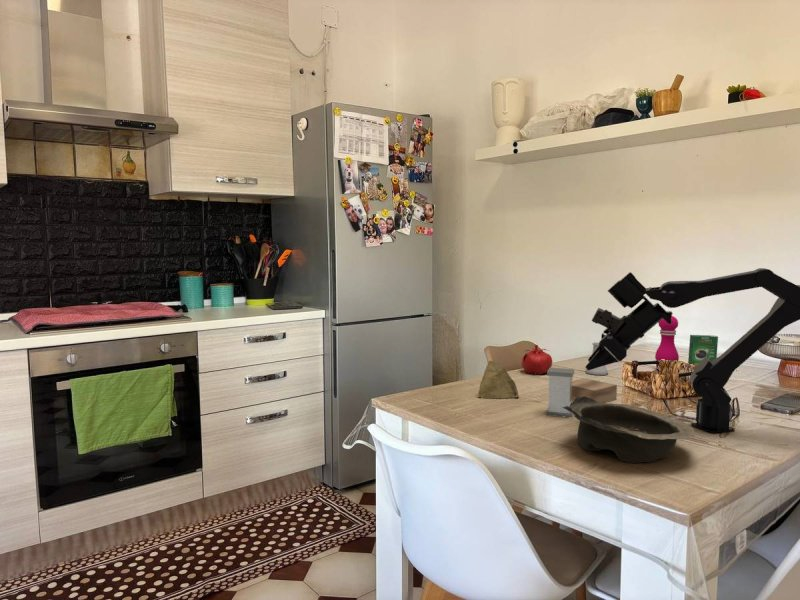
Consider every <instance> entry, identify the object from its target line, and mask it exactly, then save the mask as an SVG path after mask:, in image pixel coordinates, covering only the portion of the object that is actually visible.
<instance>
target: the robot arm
mask: <svg viewBox="0 0 800 600" xmlns="http://www.w3.org/2000/svg"><path fill="white" fill-rule="evenodd" d="M757 288H763V289H764V290H766V291H768V292H769V293H770V294H772V295H773V296H776V297H777V299H776V300H775V302H774V303H773V305H772V306H771V308H770V310H769V312H768V313H766V315H765V316H763V317H762V318H761V319H760V320H759V321H758V322H756V323H755V325H753V326H752V327H751V328H750V329H749V330H748V331H746V332H745V334H743V335H742V336H741V337H740V338H739V339H737V340H736V341H735V342H734V343H733V344H732V345H731V346H730V347H728V348H727V349H726V350H725V351H724V352H723V353H721V354H720V356H717V358H716V359H713V360H711V361H709V359H708V358H707V357H705V358H704V359H703V360H702V361H701V363H700V364H699V365H697V366H695V367H693V370H694V371H693V372H692V373H691V375H689V382H690V385H691V387H692V390H693V391H694V393H695V394H696V395H698V396H699V397H701V398H697V404H696V411H695V412H696V414H695V422H691V425H690V426H691V427H692V426H693V427H695V428H698V429H700V430H703V431H706V432H709V433H710V434H711V433H712V434H717V433H718V434H719V433H727V432H733V431H735V429H736V428H734V427H732V426H730V420H731V417H730V416H731V402H732V397H731V396H730V395H729V393H728V392H727V390H726V388H724V387H725V386H726V385H727V383H728V382H729V379H730V378H731V376H732V375H733V373H734V372H735V371H736V370H737V369H738V368H739V367H740V366H742V364H744V363H745V362H746V361H747V360H748V359H750V357H752V356H753V355H754V354H756V352H757V351H759V350H760V349H761V348H762V347H763V346H765V345H766V344H767V343H768V342H769V341H771V340H772V338H774V337H775V336H776V335H777V334H779V332H781V331H782V330H783V329H784V328H785V327H787V326H790V325H791V324H794V323H795V322H797V321H799V320H800V284H795V283H793V282H791V281H790V280H787V279H785V278H784V277H782V276H780V275H778V274H777V273H774V271H772V270H771V269H769V268H763V267H762V268H761V267H759V268H755V269H754V270H749V271H743V272H740V273H735V274H728V275H723V276H717V277H713V278H709V279H707V278H706V279H703V280H673V281H671V280H670V281H669V280H668V281H666V282H664V283H662V284H661V285H660V286H656V287H655V286H654V287H651V286H650V287H647V288H646V287H645V286H644V285H643V284H642V283H641V282H640V281H639V279H637V278H636V276H635V275H634V273H632V272H630V271H629V272H628V273H627V274H626V275H625V276H624V277H622V278H621V279H619V280H617V281H616V282H615V283H614V284H613V285H612V286H611V287H610V288H608V290H607V293H609V294H610V295H611V296H612V297H613V298H614V299H615V300H616V301H617V302H618V303H619V305H621V306H622V307H623V308H624V309H625V308H630V309H632V308H634V307H635V306H637V305H638V304H639V303H640V302H641V301H642V300H644V301H643V302H642V303H640V304H639V305H638V306H637V307H635V308H634V309H633V310H632V311H631V312H630V313H628V314H627V315H622V316H621V317H618V316H617V315H615V314H613V313H612V311H609V310H607V309H605V310H604V309H602V308H600V307H598V308H597V310H596V312H595V313H594V315H593V316H592V319H591V321H592V322H593V323H594V324H598V325H600V326H602V327H604V328H605V329H604V330H603V332H602V333H601V336H600V337H601V339H600V340H599V342H598V343H599V346H598V347H597V349H596V350H595V351H594V352H593V351H592V352H593V354H592V353H591V355H590V356H589V357H588V358H587V361H588V363H587V364H586V365H585V370H586V369H587V370H592V369H595V368H598V367H601V366H607V365H608V366H609V365H612V364H614V363H619V362H622V361H623V360H624V359H625V358H626V357H628V354H627V351H628V350H629V349H630V348H631V346H632V345H633V344H635V343H636V341H638V340H639V339H642V338H643V337H645V334H646V333H647V332H649V331H650V330H651V329H652V328H653V327H655V326H656V325H657V324H658V323H659V321H661V320H662V319H664V320H665V321H666V322H667V323H668V324H671V317H672V316H673V312H672V311H671V310H666V309H665V308H664V307H663V306H665V307H667V308H668V309H674V308H679V307H682V306H684V305H689V304H691V303H693V302H696V301H697V300H700V299H703V298H706V297H713V296H718V295H722V294H723V295H724V294H728V293H729V294H730V293H735V292H740V291H745V290H752V289H757ZM645 295H646V296H647V297H646V296H645ZM648 297H649V299H650V300H654V301H658V302H656V303H655V304H653V303H652V302H651V301H650V300H649V299H648ZM659 302H660V303H661V304H662V305H663V306H662V305H661V304H660V303H659ZM668 311H669V312H668Z"/></svg>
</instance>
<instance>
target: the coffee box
mask: <svg viewBox="0 0 800 600" xmlns="http://www.w3.org/2000/svg"><path fill="white" fill-rule="evenodd" d="M718 343H719V336H718V335H712V334H709V335H708V334H707V335H706V334H703V335H702V334H690V335H689V345H688V359H687V360H688V361H687V364H688V363H689V364H693V365H695V366H697V365H699V364H700V363H701V361H702V360H703V359H704V358H705V357H707V358H708V359H709V361H711V360H713V359H716V358H718V346H719V345H718Z"/></svg>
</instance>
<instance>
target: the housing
mask: <svg viewBox="0 0 800 600" xmlns="http://www.w3.org/2000/svg"><path fill="white" fill-rule="evenodd" d="M574 375H575V369H573V368H561V367H551V368H549V369H548V371H547V374H546V376H549V377H548V407H547V410H546V412H545V413H546V414H545V415H546V416H549V415H556V416H555V417H559V416H565V417H564V418H569V417H571V418H572V417H573V415H574V414H573V413H571V412H570V411H568V410H567V409H564V408H563V407H566V406H568V407H569V406H570V404H571V403H572V400H571V398H572V381H573V377H574Z"/></svg>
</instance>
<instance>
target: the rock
mask: <svg viewBox="0 0 800 600" xmlns="http://www.w3.org/2000/svg"><path fill="white" fill-rule="evenodd" d="M479 385H480V386H479V388H478V389H479V391H478V394H477V398H478V397H483V399H490V398H491V399H508V398H510V399H511V398H513V399H514V398H519V397H520V396H519V390H518V387H517V385H516V383H515V381H514V380H513V378H512V377H511V375H510V374H509V373H508V372H507V370H506V368H505V367H503V366H502V365H501V364H499V362H497V361H495V360H489V361H488V362H487V365H486V368H485V369H484V373H483V376H482V379H481V381H480V384H479Z"/></svg>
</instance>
